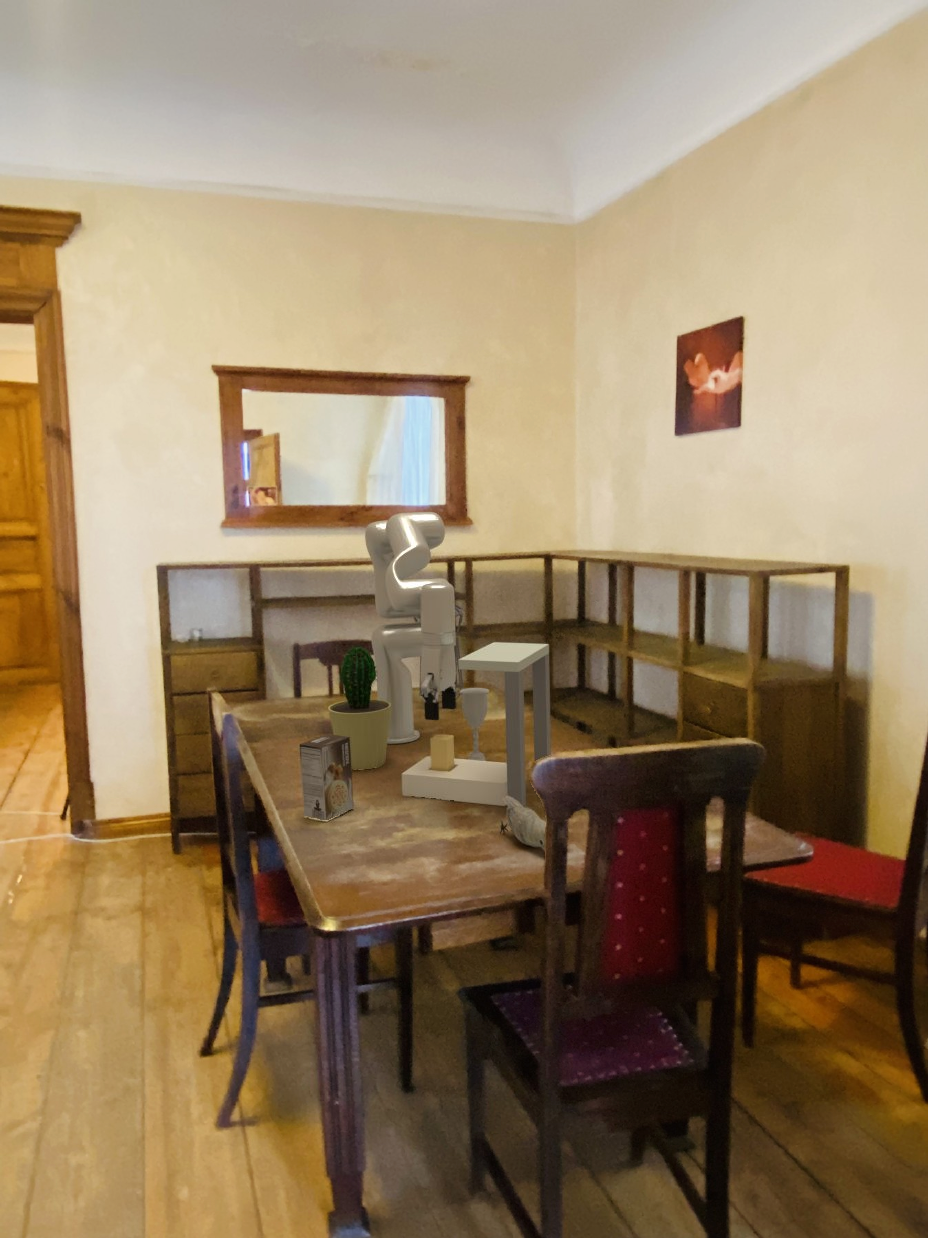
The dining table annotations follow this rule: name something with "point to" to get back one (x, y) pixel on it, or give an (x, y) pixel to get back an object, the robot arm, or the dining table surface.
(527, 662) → the c-shaped stand
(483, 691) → the chalice
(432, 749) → the peg
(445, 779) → the socket block
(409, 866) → the dining table surface
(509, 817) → the decorative bird
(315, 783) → the coffee box
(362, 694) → the potted cactus
